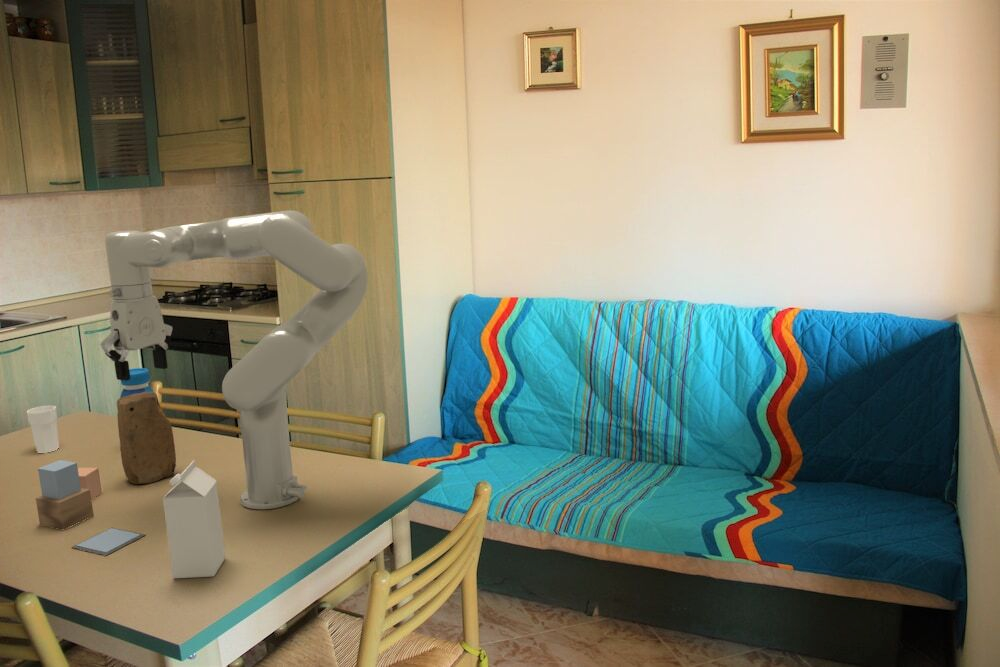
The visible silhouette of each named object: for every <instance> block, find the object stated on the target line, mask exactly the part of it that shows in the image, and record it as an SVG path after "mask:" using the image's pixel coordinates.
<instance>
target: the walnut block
mask: <svg viewBox="0 0 1000 667" xmlns="http://www.w3.org/2000/svg"><path fill="white" fill-rule="evenodd" d="M35 501H36V509H37V515H38V522H39V526H42V525H43V526H42V527H46V526H48V528H51V527H53V528H52V529H56V528H58V529H57V530H61V529H66V528H68V527H70V526H72V525H74V524H76V523H78V522H81V521H83V520H85V519H87V518H89V517H91V518H93V517H94V510H93V502H92V501H93V500H92V501H91V494H90V490H89V489H84V488H81V491H79V492H76V493H74V494H72V495H70V496H67V497H65V498H63V499H60V500H58V499H53V498H48V497H43V496H42V495H40V496H37V497H35ZM92 516H93V517H92ZM89 519H90V518H89ZM87 520H88V519H87ZM85 521H86V520H85ZM83 522H84V521H83ZM81 523H82V522H81ZM78 524H79V523H78ZM76 525H77V524H76ZM74 526H75V525H74ZM72 527H73V526H72ZM70 528H71V527H70ZM68 529H69V528H68ZM66 530H67V529H66Z"/></svg>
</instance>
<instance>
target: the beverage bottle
mask: <svg viewBox="0 0 1000 667" xmlns="http://www.w3.org/2000/svg"><path fill="white" fill-rule="evenodd" d="M129 371H130V380H127V381H126V380H120V383H121V386H122V387H124V388H123V389H122V391H121V393H120V397H119V398H122V397H124V396H128V395H132V394H138V393H142V392H153V393H155V391H154V389H153V388H152V386H150V385H149V383H150V381H151V379H150V372H149V369H148V368H145V367H137V368H129Z"/></svg>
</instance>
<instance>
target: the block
mask: <svg viewBox="0 0 1000 667" xmlns="http://www.w3.org/2000/svg"><path fill="white" fill-rule="evenodd" d="M116 407H117V426H118V427H117V429H118V438H119V444H120V447H119V449H120V456H121V464H122V468H123V472H124V474H125V477H126V478H127V480H128V481H129V482H130V483H131V484H134V485H142V484H144V485H145V484H150V483H154V482H158V481H159V480H161V479H166V478H168V477H170V476H171V475H172V474H174V473H175V471H176V466H177V461H176V445H175V440H174V432H173V426H172V423H171V422H170V419H168V418H167V416H166V414H165V412H164V411H163V409H162V408H161V404H160V401H159V397H158V395H157V393H155V392H154V393H153V392H142V393H138V394H132V395H128V396H124V397H122V398H120V397H119V398H118V399H117V401H116Z"/></svg>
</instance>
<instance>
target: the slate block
mask: <svg viewBox="0 0 1000 667" xmlns="http://www.w3.org/2000/svg"><path fill="white" fill-rule="evenodd" d="M78 468H79V467H78V463H77V462H74V461H68V460H64V459H63V460H62V459H59V460H56V461H54V462H51V463H48V464H46V465H43V466H41V467H38V468H37V471H38V477H39V483H40V491H41V496H43V497H48V498H53V499H58V500H60V499H63V498H65V497H67V496H70V495H72V494H74V493H76V492H79V491H81V487H80V480H79V474H78Z"/></svg>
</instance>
